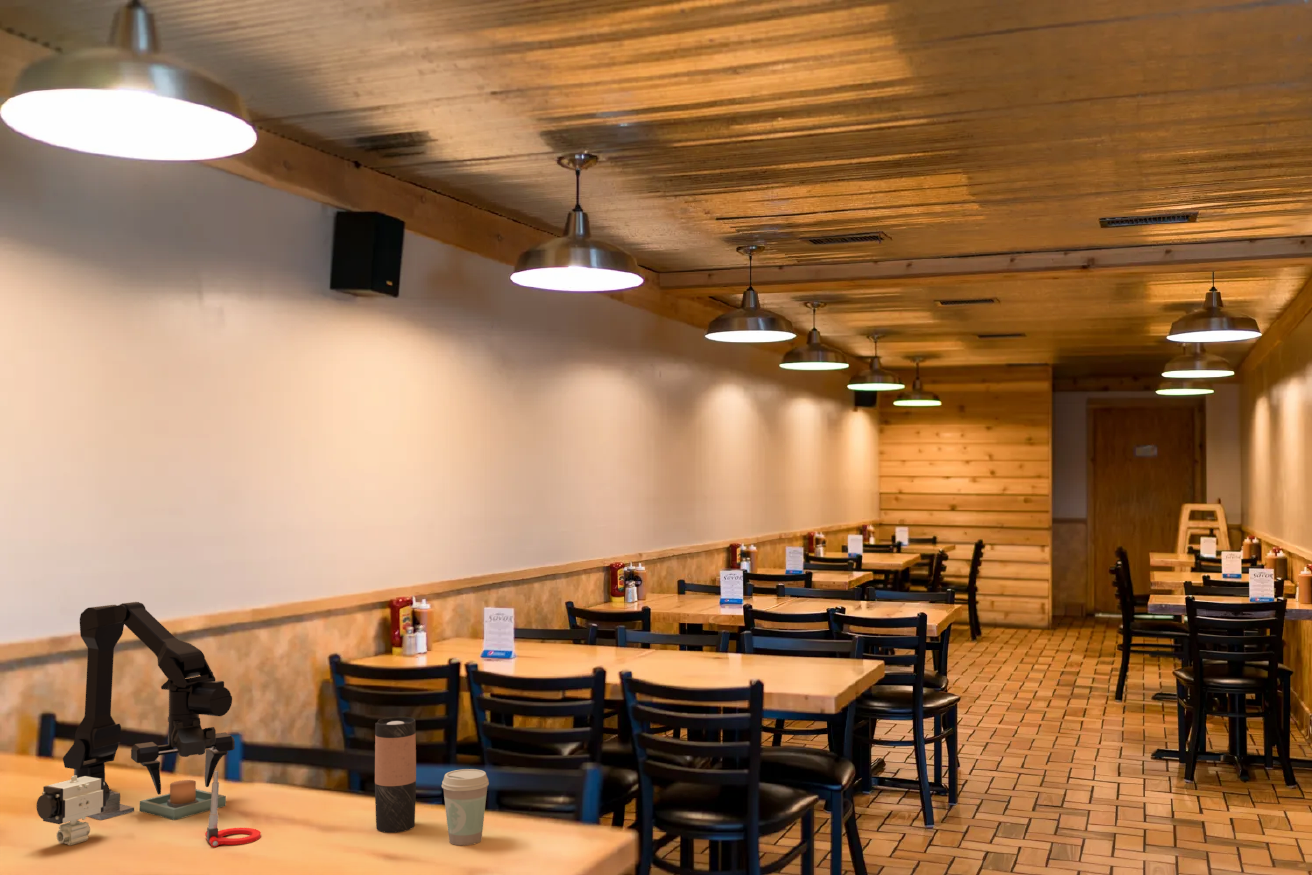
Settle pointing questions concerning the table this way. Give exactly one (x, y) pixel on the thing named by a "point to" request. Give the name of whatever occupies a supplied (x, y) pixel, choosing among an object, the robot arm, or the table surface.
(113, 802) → the stud fixture
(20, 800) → the table surface
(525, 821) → the table surface
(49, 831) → the table surface
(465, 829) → the coffee cup
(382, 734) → the travel mug
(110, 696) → the robot arm
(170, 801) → the tan cylindrical plug
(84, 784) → the pneumatic valve
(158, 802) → the bin
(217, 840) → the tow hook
